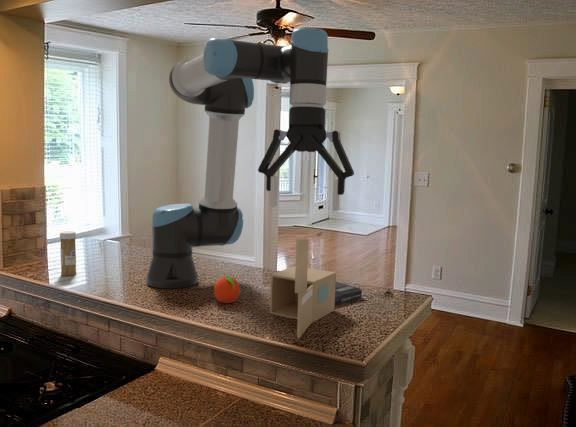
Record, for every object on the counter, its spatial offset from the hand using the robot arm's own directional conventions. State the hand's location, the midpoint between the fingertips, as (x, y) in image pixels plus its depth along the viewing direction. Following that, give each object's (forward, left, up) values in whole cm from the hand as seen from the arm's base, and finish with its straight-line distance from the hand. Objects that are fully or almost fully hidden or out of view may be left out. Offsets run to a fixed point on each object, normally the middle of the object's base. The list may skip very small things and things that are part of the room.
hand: (304, 208), depth 114 cm
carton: (-9, +17, -29) cm, 34 cm away
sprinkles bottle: (-87, +7, -29) cm, 92 cm away
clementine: (-29, +12, -29) cm, 42 cm away
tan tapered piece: (-1, +4, -28) cm, 29 cm away
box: (-12, +33, -29) cm, 46 cm away
